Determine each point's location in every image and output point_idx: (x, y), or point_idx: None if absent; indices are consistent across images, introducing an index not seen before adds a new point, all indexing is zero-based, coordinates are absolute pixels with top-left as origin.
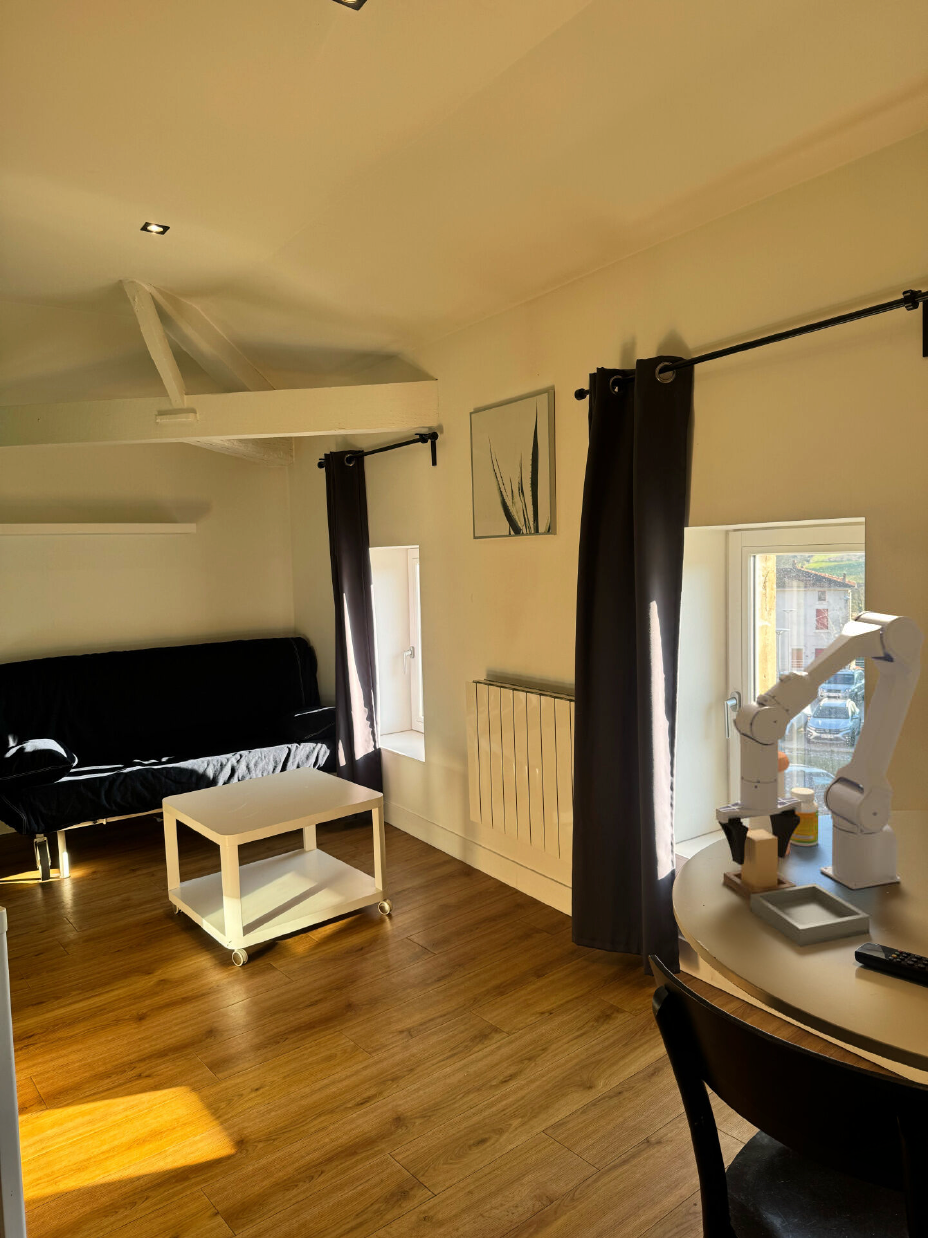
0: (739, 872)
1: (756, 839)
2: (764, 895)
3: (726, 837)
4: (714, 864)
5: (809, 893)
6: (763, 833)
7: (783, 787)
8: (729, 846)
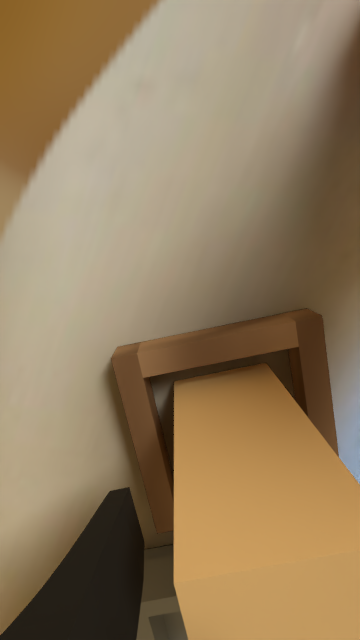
0: (181, 363)
1: None
2: (172, 610)
3: (21, 618)
4: (139, 166)
5: None
6: (354, 630)
7: None
8: (70, 551)
